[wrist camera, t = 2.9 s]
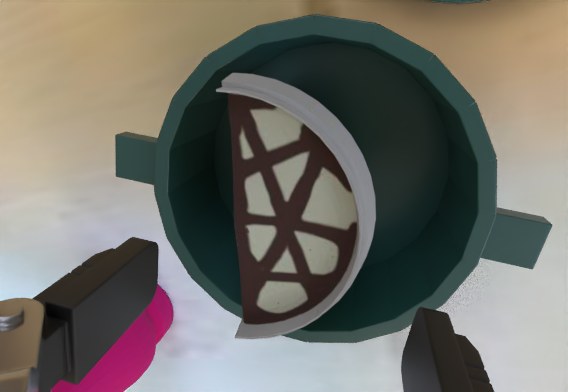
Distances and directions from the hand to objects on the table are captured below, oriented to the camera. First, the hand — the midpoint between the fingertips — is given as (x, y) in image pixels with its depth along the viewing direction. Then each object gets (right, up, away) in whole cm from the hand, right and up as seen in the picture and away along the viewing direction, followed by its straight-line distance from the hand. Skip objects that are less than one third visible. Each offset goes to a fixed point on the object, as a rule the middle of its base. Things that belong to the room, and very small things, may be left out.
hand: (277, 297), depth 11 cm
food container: (+3, +5, +13) cm, 15 cm away
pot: (+3, +5, +13) cm, 15 cm away
